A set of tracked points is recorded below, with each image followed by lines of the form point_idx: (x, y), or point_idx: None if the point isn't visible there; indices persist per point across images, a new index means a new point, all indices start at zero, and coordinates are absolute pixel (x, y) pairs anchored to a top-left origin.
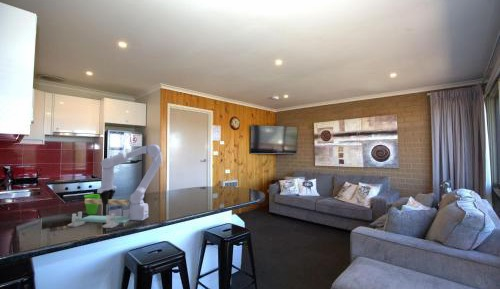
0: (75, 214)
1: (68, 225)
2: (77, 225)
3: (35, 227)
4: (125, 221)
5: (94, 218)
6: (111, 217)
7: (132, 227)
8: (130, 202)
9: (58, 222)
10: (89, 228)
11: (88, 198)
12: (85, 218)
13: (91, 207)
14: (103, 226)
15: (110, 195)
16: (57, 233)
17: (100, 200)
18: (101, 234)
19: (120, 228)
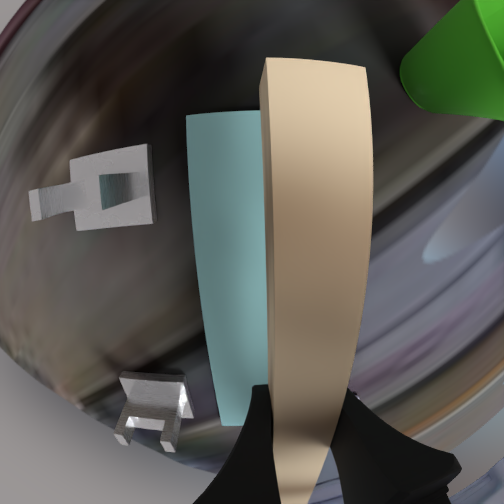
0: (36, 220)
1: (73, 166)
2: (82, 228)
3: (64, 18)
4: (236, 423)
5: (260, 220)
6: (163, 422)
7: (177, 453)
8: (323, 488)
9: (158, 20)
10: (88, 319)
11: (474, 30)
12: (249, 142)
13: (433, 80)
14: (122, 380)
15: (344, 484)
16: (2, 221)
17: (274, 386)
18: (69, 398)
19: (149, 430)
